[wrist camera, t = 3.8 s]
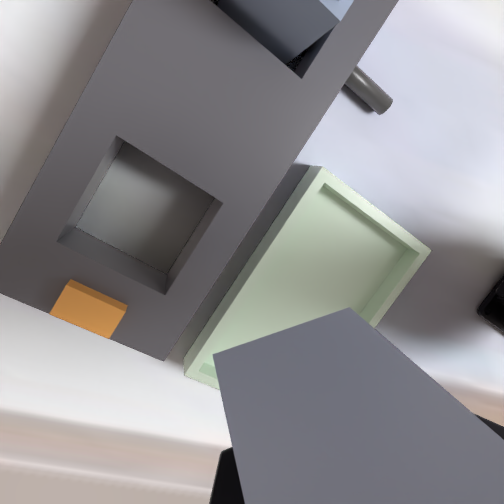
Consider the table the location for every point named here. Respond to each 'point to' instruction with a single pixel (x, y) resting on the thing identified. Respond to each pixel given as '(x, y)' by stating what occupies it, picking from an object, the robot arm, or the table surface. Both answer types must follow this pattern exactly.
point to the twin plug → (300, 34)
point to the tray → (311, 270)
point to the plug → (350, 422)
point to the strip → (172, 160)
